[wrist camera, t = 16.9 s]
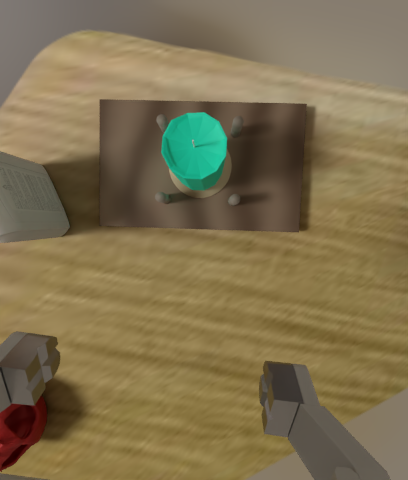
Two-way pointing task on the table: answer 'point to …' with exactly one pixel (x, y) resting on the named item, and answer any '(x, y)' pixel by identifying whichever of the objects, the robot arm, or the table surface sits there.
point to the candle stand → (229, 184)
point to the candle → (195, 150)
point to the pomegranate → (20, 430)
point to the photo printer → (28, 202)
